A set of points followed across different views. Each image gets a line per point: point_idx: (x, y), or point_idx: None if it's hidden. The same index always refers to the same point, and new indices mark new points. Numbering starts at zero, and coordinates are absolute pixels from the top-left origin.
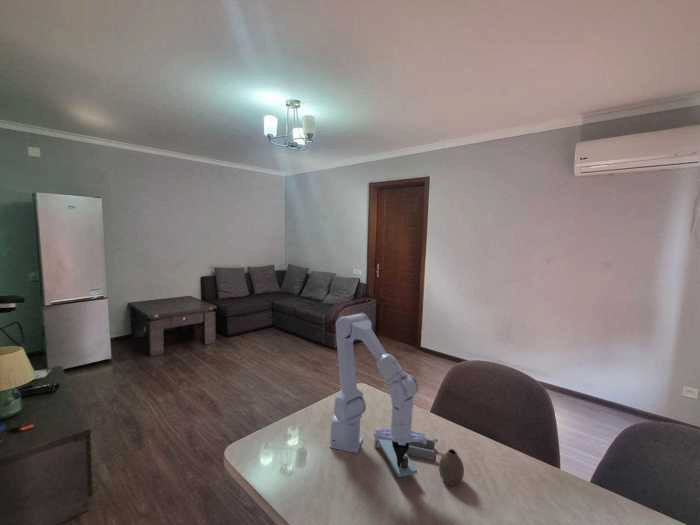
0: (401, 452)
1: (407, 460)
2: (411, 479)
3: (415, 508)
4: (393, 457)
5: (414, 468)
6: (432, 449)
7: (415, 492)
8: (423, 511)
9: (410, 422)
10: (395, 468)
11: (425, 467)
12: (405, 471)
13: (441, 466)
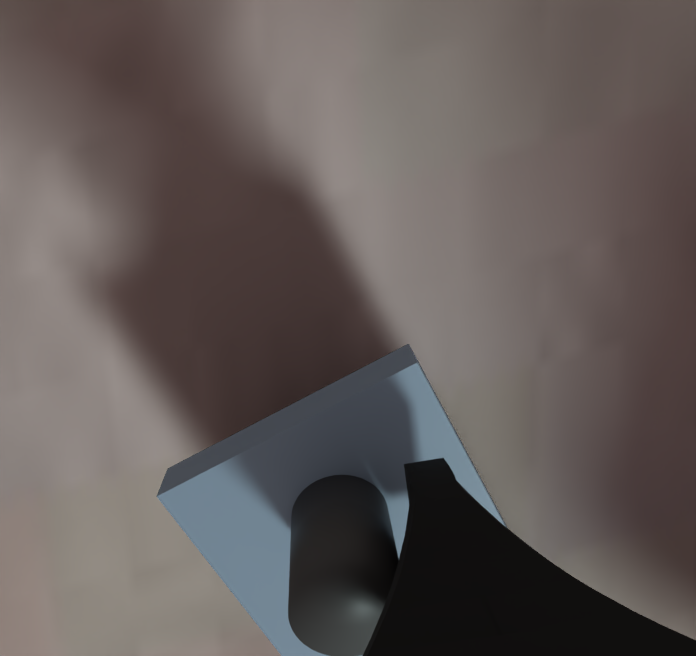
0: (476, 650)
1: (300, 573)
2: None
3: (172, 37)
4: None
5: (197, 512)
6: None
7: (192, 278)
8: (73, 14)
9: None
10: (461, 443)
11: (119, 623)
12: (320, 425)
13: None
